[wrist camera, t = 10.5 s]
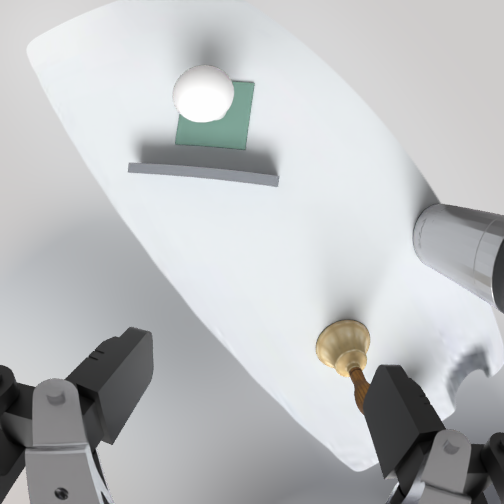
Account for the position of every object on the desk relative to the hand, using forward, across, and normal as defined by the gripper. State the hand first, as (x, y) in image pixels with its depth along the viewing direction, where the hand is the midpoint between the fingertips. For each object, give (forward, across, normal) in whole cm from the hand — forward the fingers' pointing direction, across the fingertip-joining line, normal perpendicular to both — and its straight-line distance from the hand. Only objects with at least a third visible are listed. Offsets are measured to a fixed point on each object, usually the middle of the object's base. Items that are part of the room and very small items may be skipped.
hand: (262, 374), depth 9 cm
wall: (+28, +9, -7) cm, 30 cm away
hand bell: (+28, -13, +14) cm, 34 cm away
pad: (+28, +9, -15) cm, 33 cm away
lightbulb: (+28, +9, -15) cm, 32 cm away
